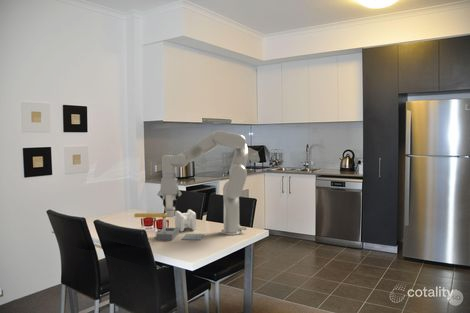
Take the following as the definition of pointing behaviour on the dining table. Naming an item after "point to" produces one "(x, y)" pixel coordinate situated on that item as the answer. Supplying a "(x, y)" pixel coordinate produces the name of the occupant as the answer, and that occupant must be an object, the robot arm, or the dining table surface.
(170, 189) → the robot arm
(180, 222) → the cable organizer
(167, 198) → the plug
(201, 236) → the mat
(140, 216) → the clip
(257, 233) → the dining table surface
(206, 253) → the dining table surface
